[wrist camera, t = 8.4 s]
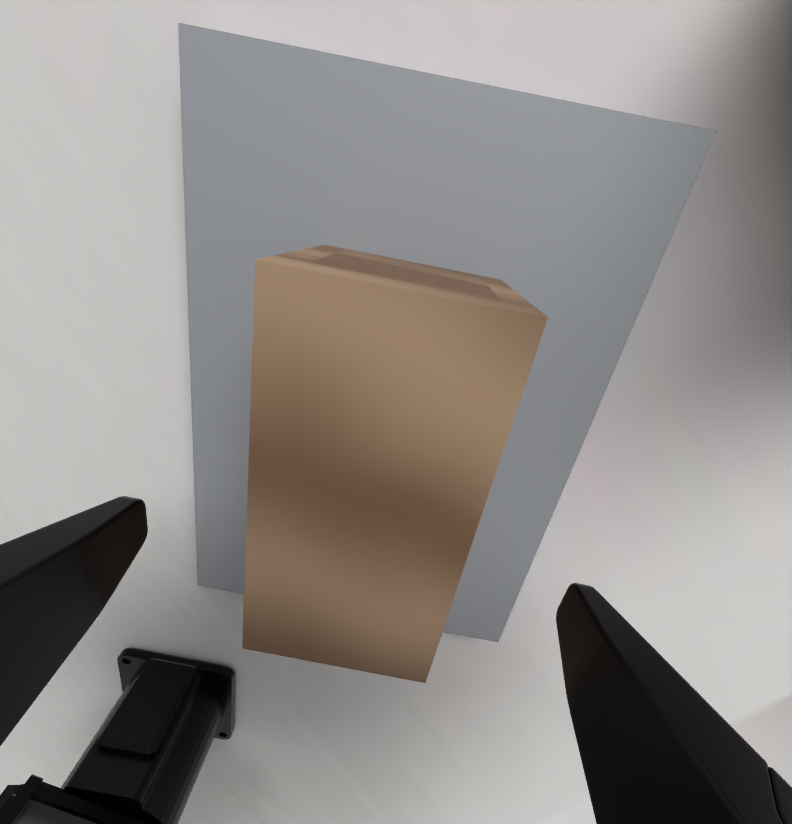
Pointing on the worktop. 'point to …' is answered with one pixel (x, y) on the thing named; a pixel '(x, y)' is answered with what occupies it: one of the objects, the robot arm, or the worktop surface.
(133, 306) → the worktop surface
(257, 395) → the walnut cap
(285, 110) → the pin board
